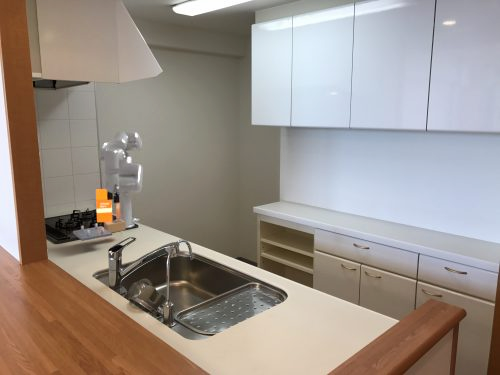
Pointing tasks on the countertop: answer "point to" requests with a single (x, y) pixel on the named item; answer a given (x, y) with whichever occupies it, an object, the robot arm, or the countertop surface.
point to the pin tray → (92, 233)
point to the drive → (115, 225)
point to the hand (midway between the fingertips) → (113, 201)
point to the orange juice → (103, 206)
